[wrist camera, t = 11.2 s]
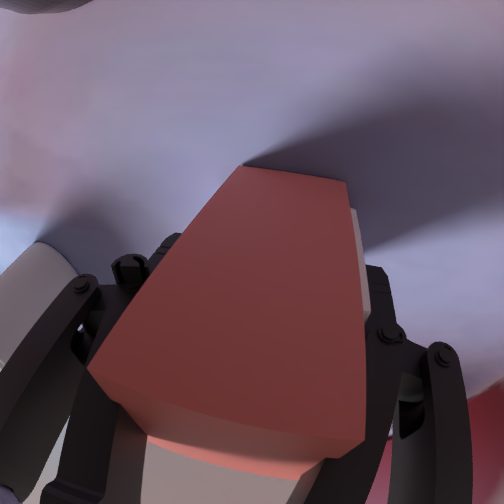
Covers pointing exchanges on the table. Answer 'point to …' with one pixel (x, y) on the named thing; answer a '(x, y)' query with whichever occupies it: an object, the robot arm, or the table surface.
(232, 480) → the cabinet
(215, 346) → the red mallet
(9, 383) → the robot arm
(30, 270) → the mug
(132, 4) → the table surface
